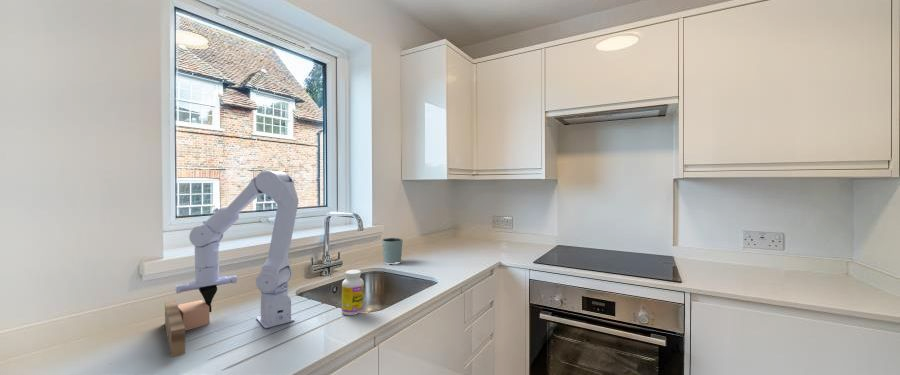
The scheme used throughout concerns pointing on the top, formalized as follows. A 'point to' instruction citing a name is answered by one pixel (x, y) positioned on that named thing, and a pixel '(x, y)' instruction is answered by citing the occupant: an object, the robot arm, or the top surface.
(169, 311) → the plank
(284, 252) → the robot arm
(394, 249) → the green plant pot
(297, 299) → the top surface
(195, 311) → the block
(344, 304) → the supplement bottle
